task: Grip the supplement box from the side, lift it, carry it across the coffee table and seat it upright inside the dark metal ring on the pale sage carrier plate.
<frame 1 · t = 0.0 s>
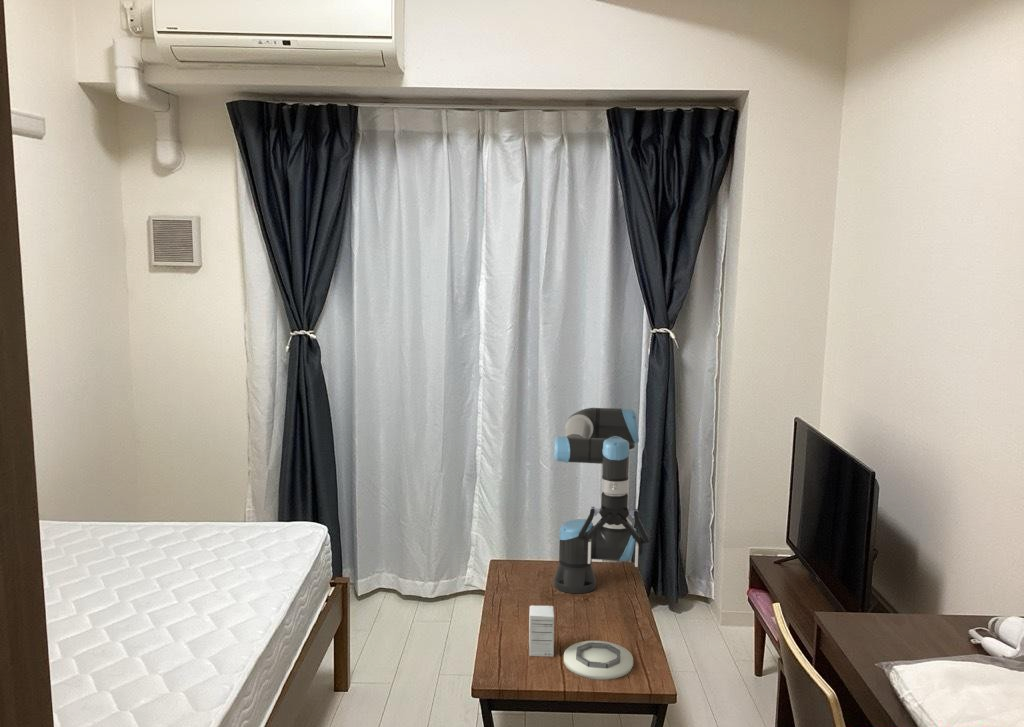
hand: (612, 563, 232), 28 cm above the table, tool pointing down, fingers open, 13 cm apart
seat ring: (598, 654, 231), on the carrier plate, point 2 cm above the table
carrier plate: (598, 661, 231), on the table
supplement box: (541, 651, 237), on the table
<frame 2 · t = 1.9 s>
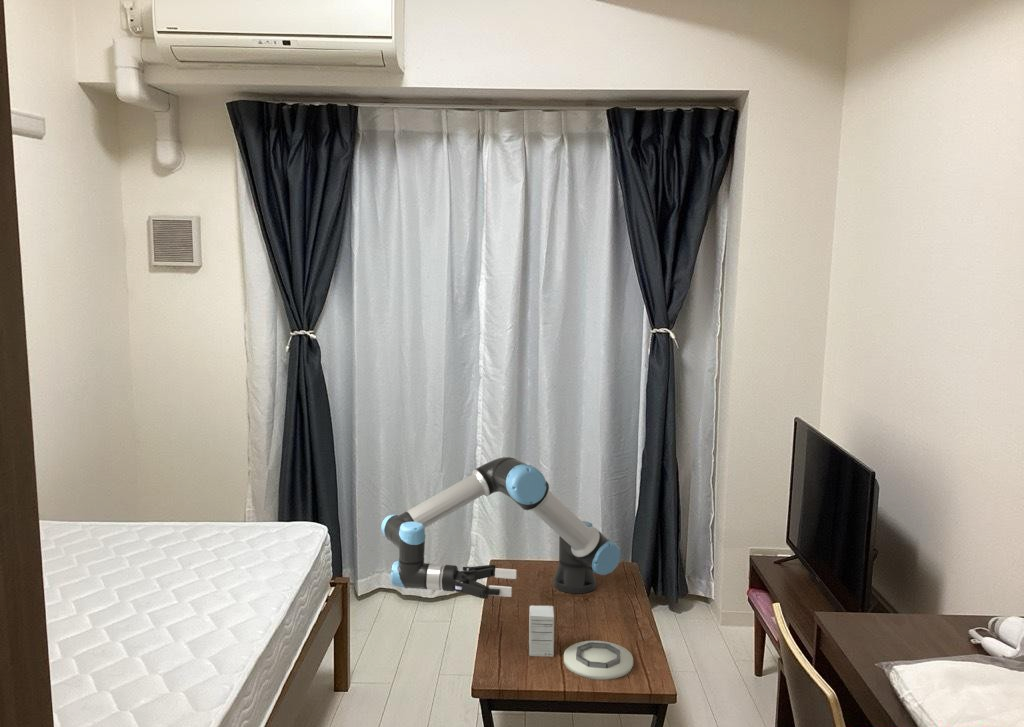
hand: (514, 582, 236), 21 cm above the table, tool horizontal, fingers open, 13 cm apart
nothing on the table moved.
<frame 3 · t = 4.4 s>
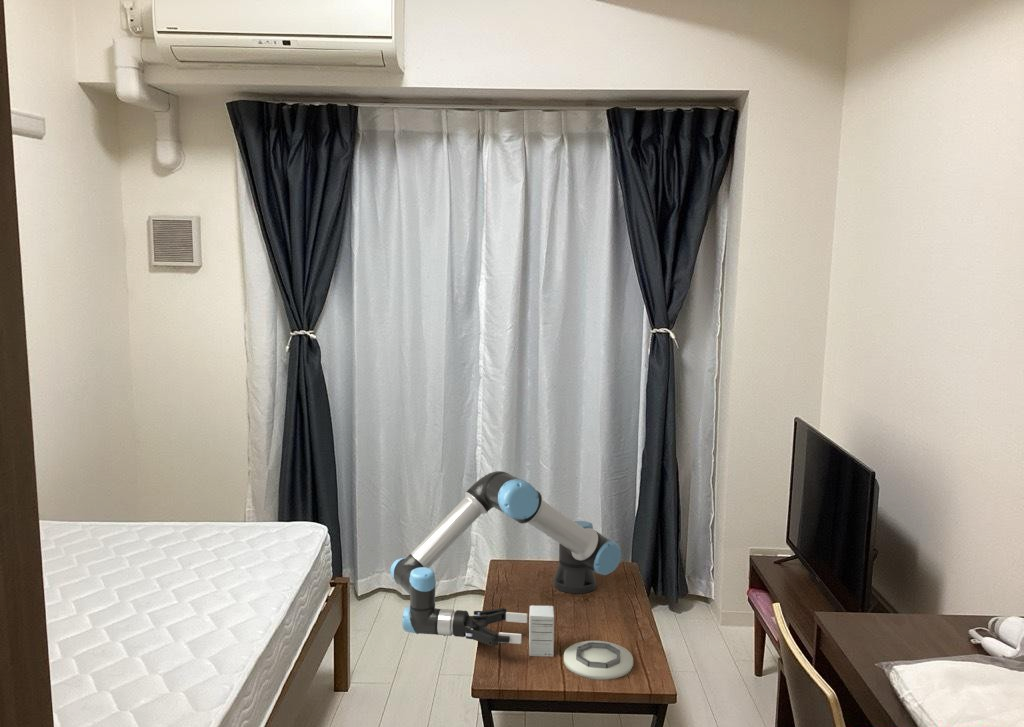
hand: (524, 628, 237), 7 cm above the table, tool horizontal, fingers open, 13 cm apart
nothing on the table moved.
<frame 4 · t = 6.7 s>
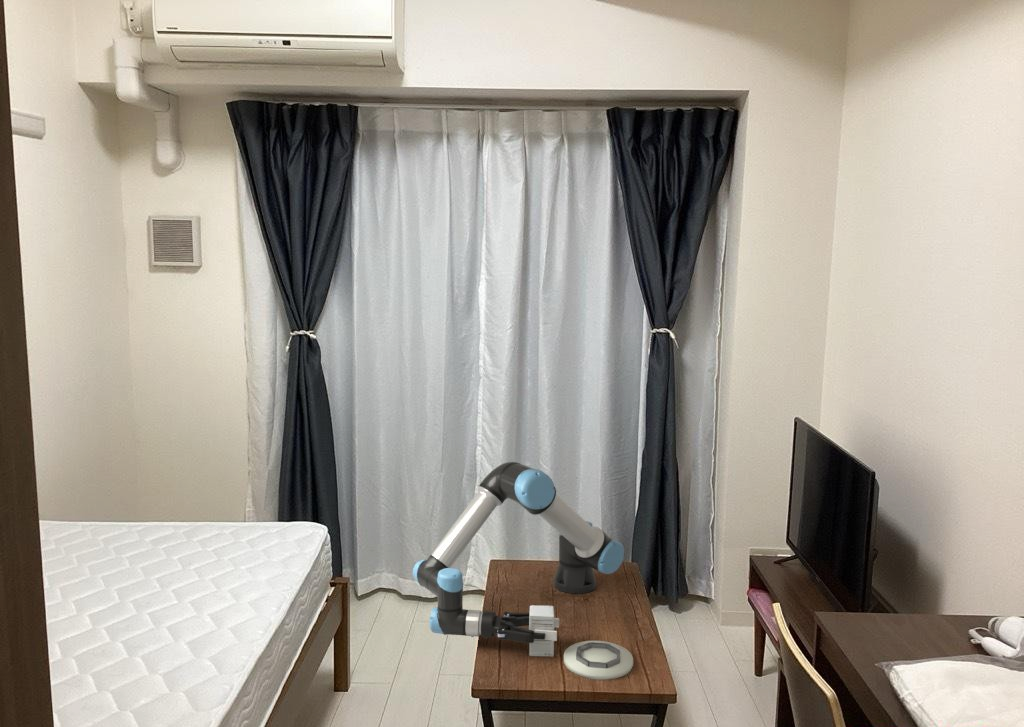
hand: (557, 629, 236), 7 cm above the table, tool horizontal, fingers closed on supplement box, 8 cm apart
supplement box: (541, 651, 237), on the table, touching gripper
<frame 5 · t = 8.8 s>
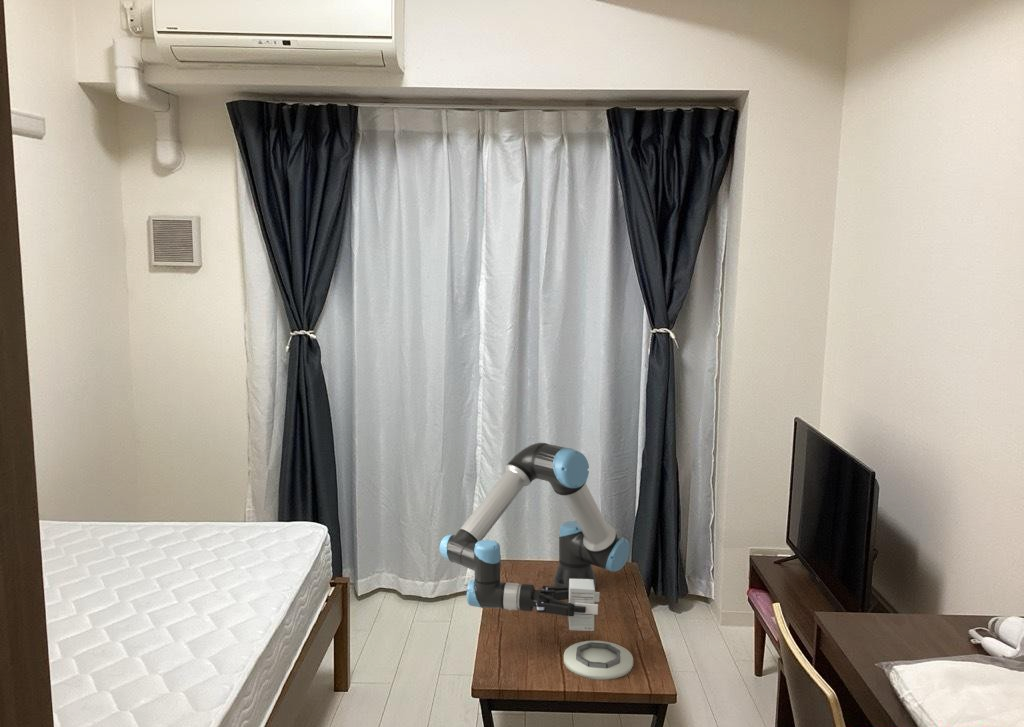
hand: (598, 603, 229), 18 cm above the table, tool horizontal, fingers closed on supplement box, 8 cm apart
supplement box: (580, 625, 231), point 11 cm above the table, touching gripper
when the fingers open (10 cm above the table, at t = 11.0 s): supplement box drops 2 cm, resting on carrier plate.
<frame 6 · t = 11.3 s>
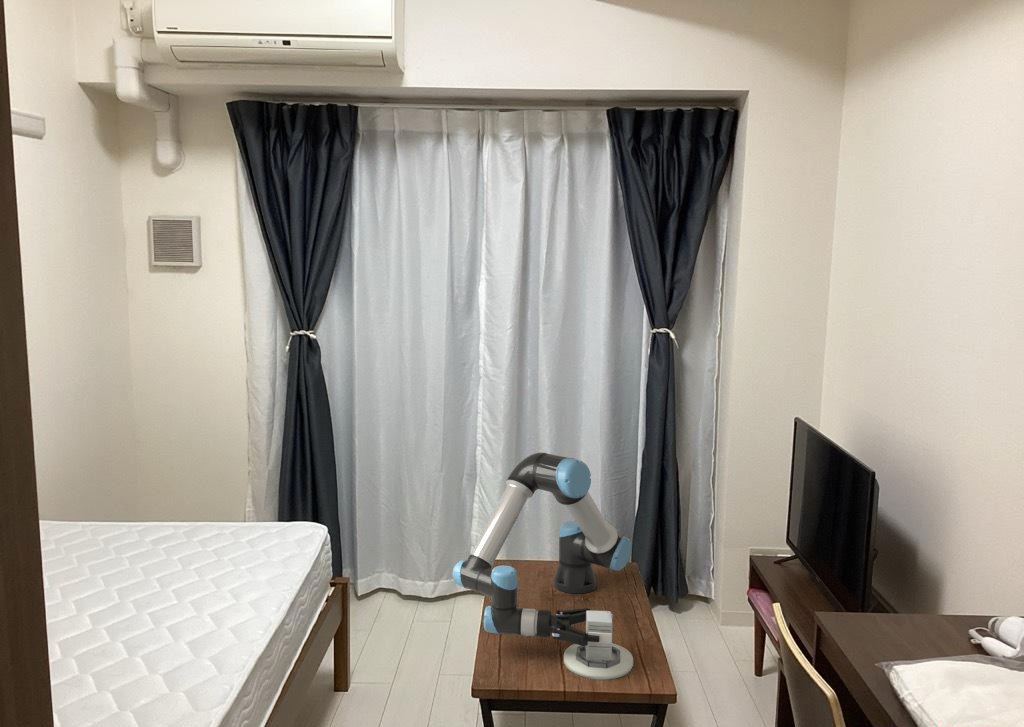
hand: (612, 628, 229), 10 cm above the table, tool horizontal, fingers open, 12 cm apart
supplement box: (598, 657, 231), point 1 cm above the table, touching carrier plate
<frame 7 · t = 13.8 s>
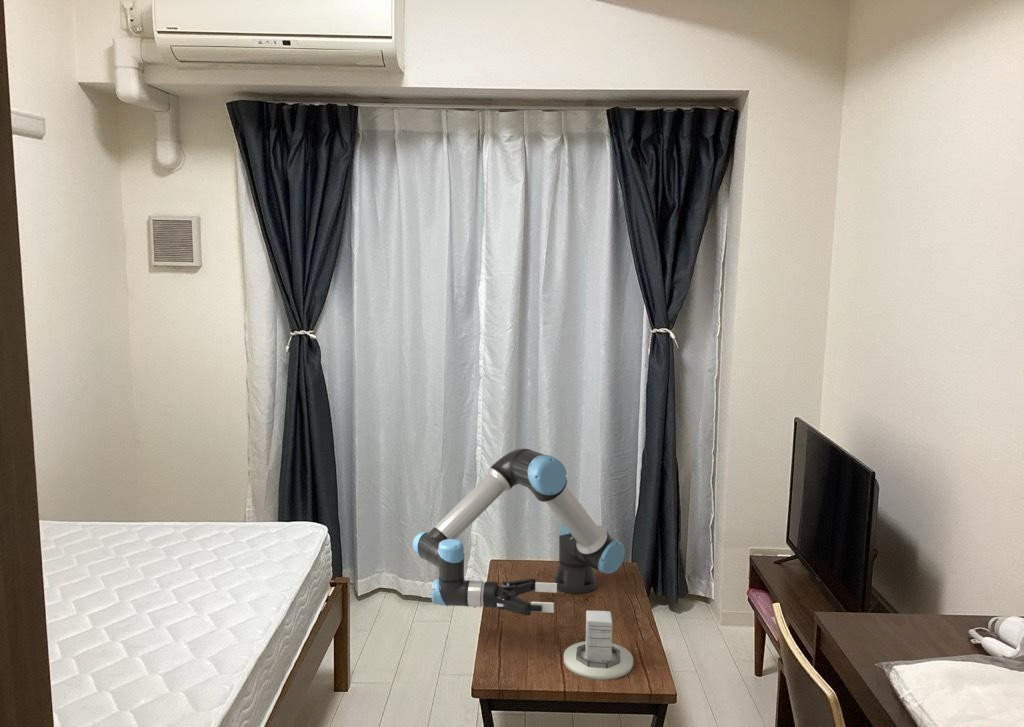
hand: (555, 597, 234), 17 cm above the table, tool horizontal, fingers open, 13 cm apart
nothing on the table moved.
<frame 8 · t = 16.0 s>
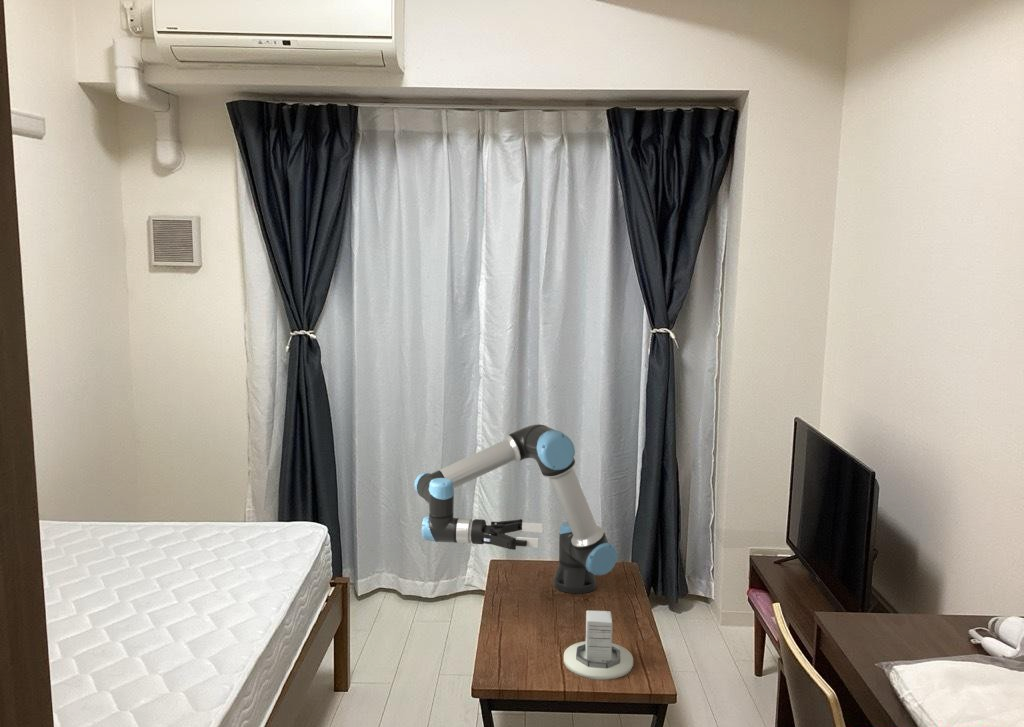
hand: (540, 535, 243), 32 cm above the table, tool horizontal, fingers open, 13 cm apart
nothing on the table moved.
at the end: supplement box 0.2 cm off-centre on the carrier plate, point 1.3 cm above the carrier plate's base; supplement box tilted 0°; the gripper is holding nothing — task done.
